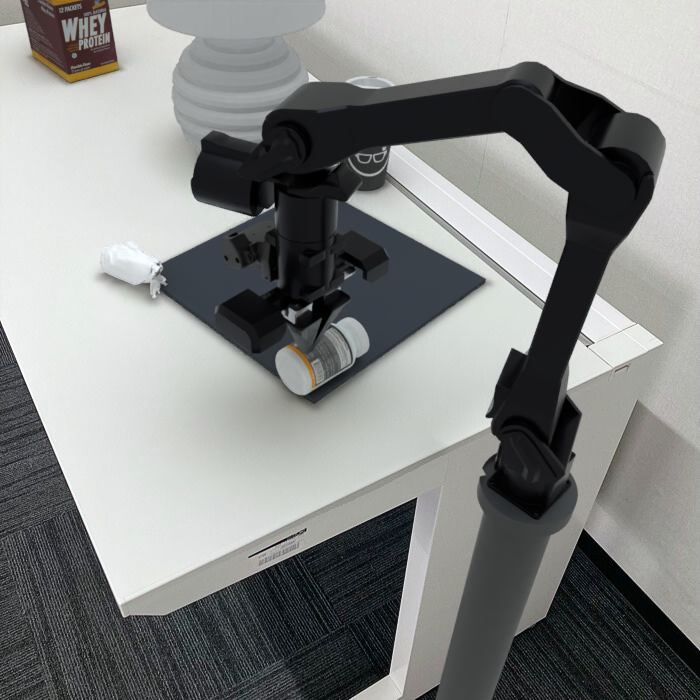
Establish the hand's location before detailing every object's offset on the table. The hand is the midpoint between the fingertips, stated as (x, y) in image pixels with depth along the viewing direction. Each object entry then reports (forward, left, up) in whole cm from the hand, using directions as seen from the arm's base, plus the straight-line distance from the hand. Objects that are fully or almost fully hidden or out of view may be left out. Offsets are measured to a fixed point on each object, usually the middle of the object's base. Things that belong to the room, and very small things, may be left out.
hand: (305, 351), depth 83 cm
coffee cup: (+28, -40, -8) cm, 49 cm away
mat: (+15, -16, -8) cm, 23 cm away
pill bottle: (+2, +1, -4) cm, 4 cm away
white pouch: (+31, +1, -7) cm, 32 cm away
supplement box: (+95, -31, -8) cm, 100 cm away
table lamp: (+47, -32, -8) cm, 57 cm away
